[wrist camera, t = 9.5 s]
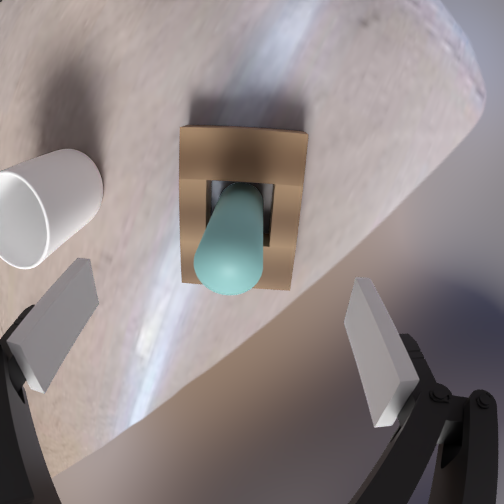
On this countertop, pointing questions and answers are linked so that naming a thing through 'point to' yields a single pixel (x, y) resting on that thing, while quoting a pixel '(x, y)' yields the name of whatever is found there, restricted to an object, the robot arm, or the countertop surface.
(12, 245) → the cup
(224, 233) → the peg
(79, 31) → the countertop surface
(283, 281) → the socket
